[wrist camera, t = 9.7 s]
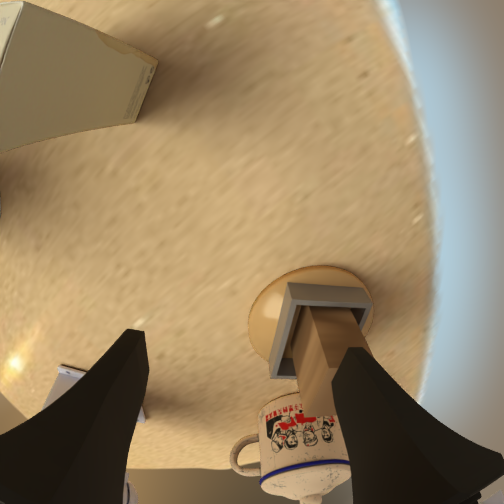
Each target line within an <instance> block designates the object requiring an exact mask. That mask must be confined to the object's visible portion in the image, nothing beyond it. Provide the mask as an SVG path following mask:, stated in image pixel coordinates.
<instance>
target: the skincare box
mask: <svg viewBox="0 0 504 504" xmlns="http://www.w3.org/2000/svg"><path fill="white" fill-rule="evenodd" d="M157 65H158V60H157V59H155V58H153V57H152V56H150V55H148V54H146V53H144V52H142V51H140V50H138V49H136V48H134V47H132V46H130V45H128V44H126V43H124V42H122V41H120V40H118V39H116V38H113V37H111V36H109V35H107V34H105V33H103V32H101V31H98V30H96V29H94V28H92V27H89V26H87V25H85V24H83V23H80V22H78V21H75V20H73V19H70V18H68V17H65V16H63V15H60V14H58V13H55V12H52V11H50V10H47V9H45V8H42V7H39V6H37V5H34V4H31V3H28V2H25V1H11V2H2V3H0V153H2V152H5V151H8V150H12V149H15V148H18V147H21V146H24V145H28V144H31V143H35V142H39V141H43V140H47V139H51V138H56V137H60V136H64V135H69V134H73V133H77V132H83V131H88V130H94V129H100V128H105V127H111V126H118V125H125V124H133V123H134V122H135V121H136V118H137V115H138V113H139V110H140V108H141V105H142V103H143V100H144V97H145V95H146V92H147V90H148V87H149V85H150V82H151V80H152V77H153V75H154V72H155V70H156V67H157Z"/></svg>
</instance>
